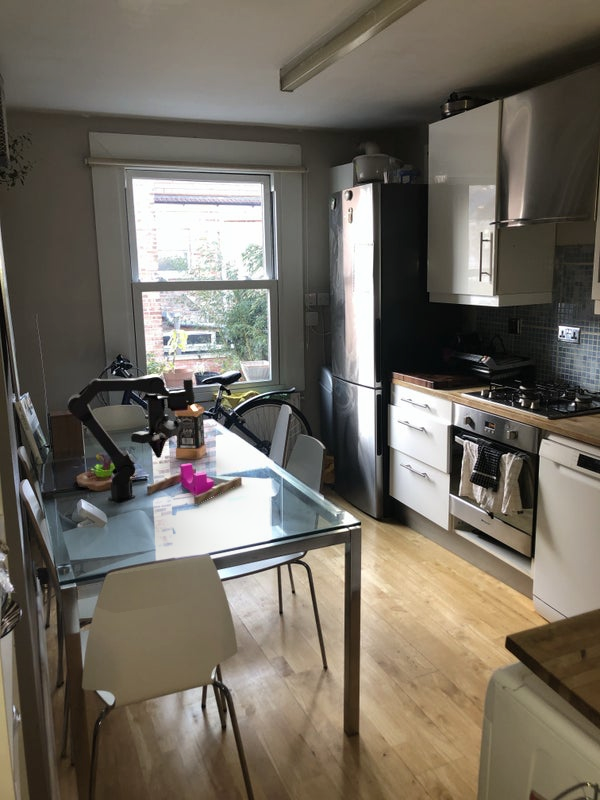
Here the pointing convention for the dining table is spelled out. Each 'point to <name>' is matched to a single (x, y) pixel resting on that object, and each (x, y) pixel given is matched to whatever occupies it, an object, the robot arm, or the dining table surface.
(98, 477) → the plant
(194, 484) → the toy block
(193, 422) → the whiskey bottle
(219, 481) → the trap mat
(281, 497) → the dining table surface
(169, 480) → the lane rails
